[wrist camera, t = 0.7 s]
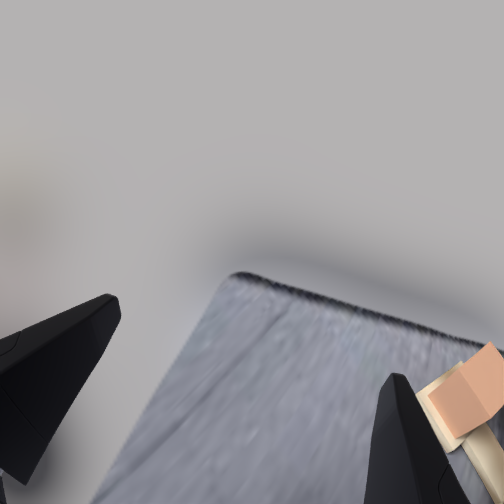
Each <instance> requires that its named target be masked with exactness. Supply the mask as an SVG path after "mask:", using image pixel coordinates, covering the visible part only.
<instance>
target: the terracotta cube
mask: <svg viewBox="0 0 504 504" xmlns="http://www.w3.org/2000/svg"><path fill="white" fill-rule="evenodd" d="M427 396H428V397H429V399H430V400H431V402H432V403H433V405H434V406H435V408H436V410H437V411H438V413H439V414H440V416H441V417H442V419H443V421H444V422H445V424H446V425H447V427H448V429H449V430H450V432H451V433H452V435H453V437H454V438H455V439H456V438H458V437H460V436H462V435H464V434H465V433H467V432H469V431H471V430H472V429H474V428H476V427H478V426H479V425H481V424H483V423H484V422H486V421H488V420H489V419H491V418H492V417H493V416H494V415H495V414H496V412H497V411H498V410H499V409H500V408H501V407H502V406H503V405H504V359H503V358H502V356H501V355H500V353H499V352H498V351H497V349H496V348H495V347H494V345H493V344H492V342H491V341H490V342H489V343H488V344H487V345H486V346H484V347H483V348H482V349H481V350H480V351H479V352H478V353H476V354H475V355H474V356H473V357H472V358H470V359H469V360H468V361H467V362H466V363H464V364H463V365H462V366H461V367H459V368H458V369H457V370H456V371H455V372H454V373H453V374H452V375H451V376H449V377H448V378H447V379H446V380H445V381H444V382H443V383H442V384H440V385H439V386H438V387H437V388H436V389H435V390H433V391H432V392H431V393H430V394H429V395H427Z"/></svg>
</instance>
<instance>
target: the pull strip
mask: <svg viewBox="0 0 504 504" xmlns="http://www.w3.org/2000/svg"><path fill="white" fill-rule="evenodd" d="M463 364H464V363H463V362H462V361H460V362H459V363H458V364H456V365H455V366H454V367H452V368H451V369H450V370H448V371H447V372H446V373H444V374H443V375H442V376H440V377H439V378H438V379H436V380H435V381H434V382H432V383H431V384H429V385H428V386H427V387H425V388H424V389H422V390H421V391H419V392H418V393H417V394H415V395H416V397H417V399H418V401H419V403H420V405H421V406H422V408H423V410H424V412H425V414H426V416H427V418H428V420H429V422H430V424H431V426H432V428H433V430H434V432H435V434H436V436H437V438H438V439H439V441H440V443H441V444H442V446H443V448H444V449H445V451H446V453H449V452H451V451H453V450H454V449H456V448H457V447H458V446H459V445H460V444H461V445H462V447H463V449H464V450H465V452H466V454H467V455H468V457H469V459H470V460H471V462H472V464H473V466H474V467H475V469H476V471H477V473H478V474H479V476H480V478H481V480H482V481H483V483H484V485H485V487H486V488H487V490H488V492H489V494H490V496H491V498H492V499H493V501H494V503H495V504H504V451H503V449H502V448H501V446H500V444H499V443H498V441H497V439H496V438H495V436H494V434H493V433H492V431H491V429H490V428H489V426H488V424H487V423H486V422H484V423H483V424H481V425H479V426H478V427H476V428H474V429H472V430H471V431H469V432H467V433H465V434H464V435H462V436H460V437H458V438H456V439H455V438H454V437H453V435H452V433H451V432H450V430H449V429H448V427H447V425H446V424H445V422H444V421H443V419H442V417H441V416H440V414H439V413H438V411H437V410H436V408H435V406H434V405H433V403H432V402H431V400H430V399H429V397H428V396H427V395H429V394H430V393H431V392H432V391H433V390H435V389H436V388H437V387H438V386H439V385H440V384H442V383H443V382H444V381H445V380H446V379H447V378H448V377H449V376H451V375H452V374H453V373H454V372H455V371H456V370H457V369H458V368H459V367H461V366H462V365H463Z"/></svg>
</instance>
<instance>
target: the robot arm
mask: <svg viewBox="0 0 504 504" xmlns="http://www.w3.org/2000/svg"><path fill="white" fill-rule="evenodd" d="M120 319H121V311H120V306H119V301H118V298H117V297H116V296H114V295H111V294H104V295H101V296H99V297H96V298H94V299H92V300H89V301H87V302H85V303H82V304H80V305H78V306H75V307H73V308H71V309H69V310H66V311H64V312H62V313H59V314H57V315H55V316H53V317H51V318H48V319H46V320H43V321H41V322H39V323H37V324H34V325H32V326H30V327H28V328H25V329H23V330H22V331H18V332H16V333H14V334H12V335H9V336H7V337H5V338H2V339H0V475H1V474H2V472H3V471H5V472H6V473H8V474H9V475H11V476H12V477H13V478H15V479H16V480H18V481H19V482H20V483H22V484H23V485H26V484H27V483H28V481H29V479H30V477H31V475H32V474H33V472H34V470H35V468H36V466H37V464H38V462H39V460H40V459H41V457H42V455H43V453H44V452H45V450H46V448H47V446H48V443H49V442H50V441H51V439H52V437H53V435H54V434H55V432H56V430H57V428H58V427H59V425H60V423H61V422H62V420H63V418H64V416H65V415H66V413H67V411H68V409H69V408H70V406H71V405H72V403H73V401H74V400H75V398H76V396H77V395H78V393H79V392H80V390H81V388H82V387H83V385H84V383H85V382H86V380H87V379H88V377H89V375H90V374H91V372H92V371H93V369H94V368H95V366H96V364H97V363H98V361H99V360H100V358H101V357H102V355H103V353H104V351H105V349H106V347H107V345H108V343H109V341H110V339H111V337H112V335H113V333H114V332H115V330H116V327H117V326H118V324H119V322H120ZM0 504H7V503H6V498H5V494H4V488H3V482H2V477H1V476H0ZM364 504H470V502H469V500H468V498H467V497H466V495H465V493H464V491H463V489H462V488H461V486H460V484H459V482H458V480H457V478H456V475H455V473H454V471H453V469H452V467H451V465H450V464H449V461H448V459H447V457H446V454H445V452H444V450H443V448H442V446H441V444H440V442H439V440H438V438H437V436H436V434H435V432H434V430H433V428H432V426H431V424H430V422H429V420H428V418H427V416H426V414H425V412H424V410H423V408H422V406H421V405H420V403H419V401H418V399H417V397H416V395H415V393H414V391H413V389H412V388H411V386H410V384H409V382H408V380H407V378H406V377H405V375H403V374H399V373H391V374H390V376H389V377H388V379H387V380H386V382H385V383H384V385H383V386H382V388H381V390H380V393H379V398H378V404H377V410H376V416H375V421H374V426H373V432H372V438H371V447H370V458H369V467H368V476H367V483H366V491H365V498H364Z"/></svg>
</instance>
